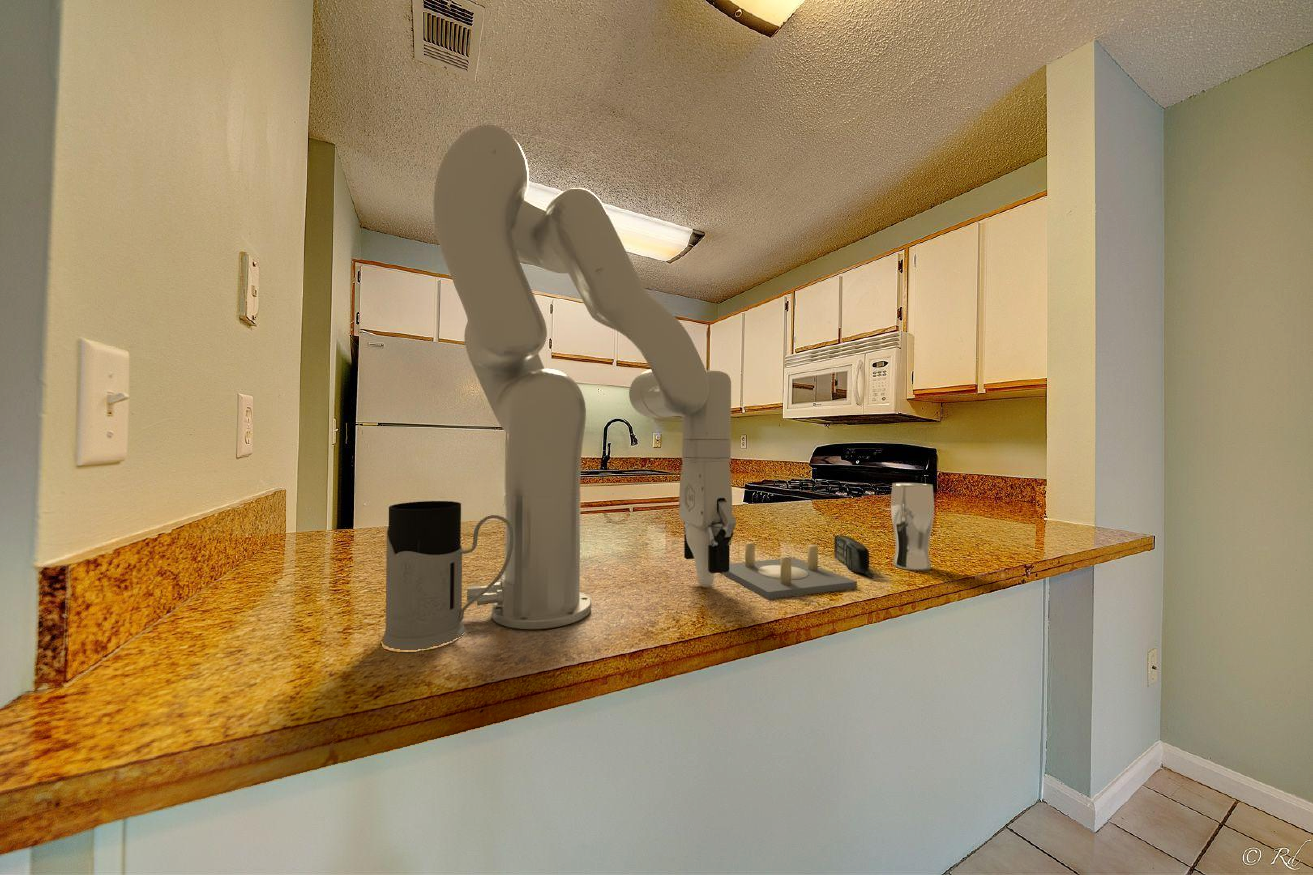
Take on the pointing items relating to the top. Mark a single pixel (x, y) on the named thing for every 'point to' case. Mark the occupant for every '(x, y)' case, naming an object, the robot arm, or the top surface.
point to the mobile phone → (852, 554)
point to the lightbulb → (700, 552)
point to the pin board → (788, 590)
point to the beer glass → (912, 524)
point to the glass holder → (427, 574)
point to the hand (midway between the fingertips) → (705, 564)
